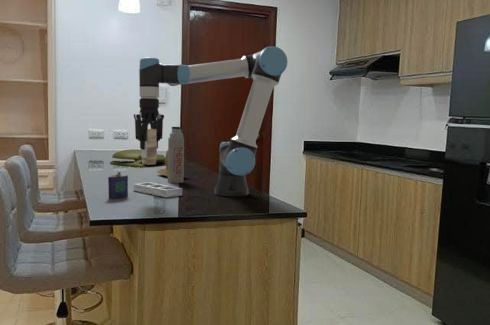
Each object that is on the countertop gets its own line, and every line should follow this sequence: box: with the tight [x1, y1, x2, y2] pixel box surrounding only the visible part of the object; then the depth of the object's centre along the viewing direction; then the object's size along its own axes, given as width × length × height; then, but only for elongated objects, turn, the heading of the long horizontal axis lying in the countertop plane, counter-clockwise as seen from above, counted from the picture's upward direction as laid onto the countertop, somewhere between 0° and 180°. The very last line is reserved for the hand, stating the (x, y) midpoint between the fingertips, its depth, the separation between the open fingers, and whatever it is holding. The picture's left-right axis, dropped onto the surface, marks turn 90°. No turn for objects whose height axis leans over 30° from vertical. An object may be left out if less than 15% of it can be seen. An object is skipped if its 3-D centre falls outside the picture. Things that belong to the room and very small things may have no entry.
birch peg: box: [141, 128, 157, 166], centre depth 184 cm, size 4×4×14 cm
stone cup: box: [156, 149, 168, 178], centre depth 255 cm, size 15×12×15 cm
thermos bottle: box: [167, 126, 185, 184], centre depth 235 cm, size 8×8×28 cm
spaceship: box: [109, 148, 166, 169], centre depth 309 cm, size 35×31×10 cm
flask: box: [107, 171, 129, 200], centre depth 188 cm, size 9×3×11 cm, turn 144°
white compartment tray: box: [133, 181, 183, 198], centre depth 203 cm, size 22×9×3 cm, turn 50°
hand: (149, 157), depth 185 cm, fingers closed on birch peg, 4 cm apart
